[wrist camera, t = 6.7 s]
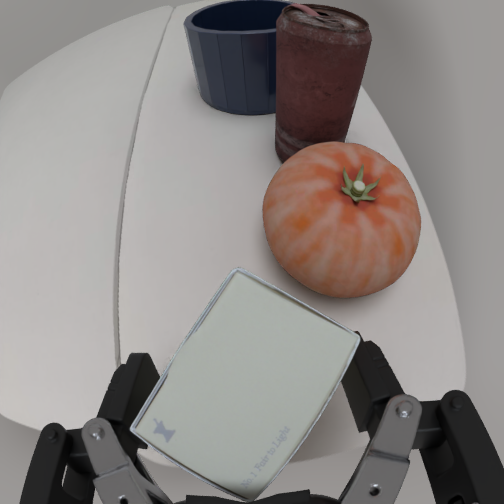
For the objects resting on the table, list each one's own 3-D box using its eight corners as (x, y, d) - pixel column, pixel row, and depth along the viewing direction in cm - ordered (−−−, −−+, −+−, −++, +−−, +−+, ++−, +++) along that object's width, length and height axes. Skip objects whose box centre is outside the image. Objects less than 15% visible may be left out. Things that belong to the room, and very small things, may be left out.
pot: (281, 52, 32) (281, -5, 23) (331, 101, 27) (344, 28, 18) (189, 73, 31) (175, 12, 21) (216, 129, 26) (199, 46, 17)
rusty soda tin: (295, 120, 26) (303, -3, 13) (349, 148, 24) (385, 22, 11) (259, 153, 24) (252, 12, 11) (318, 187, 23) (353, 38, 10)
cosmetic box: (260, 422, 16) (251, 512, 5) (206, 390, 17) (122, 433, 6) (307, 348, 18) (371, 337, 7) (253, 317, 19) (233, 260, 8)
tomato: (332, 339, 18) (374, 327, 11) (234, 234, 22) (218, 171, 14) (415, 245, 20) (466, 197, 13) (326, 163, 24) (343, 95, 16)
